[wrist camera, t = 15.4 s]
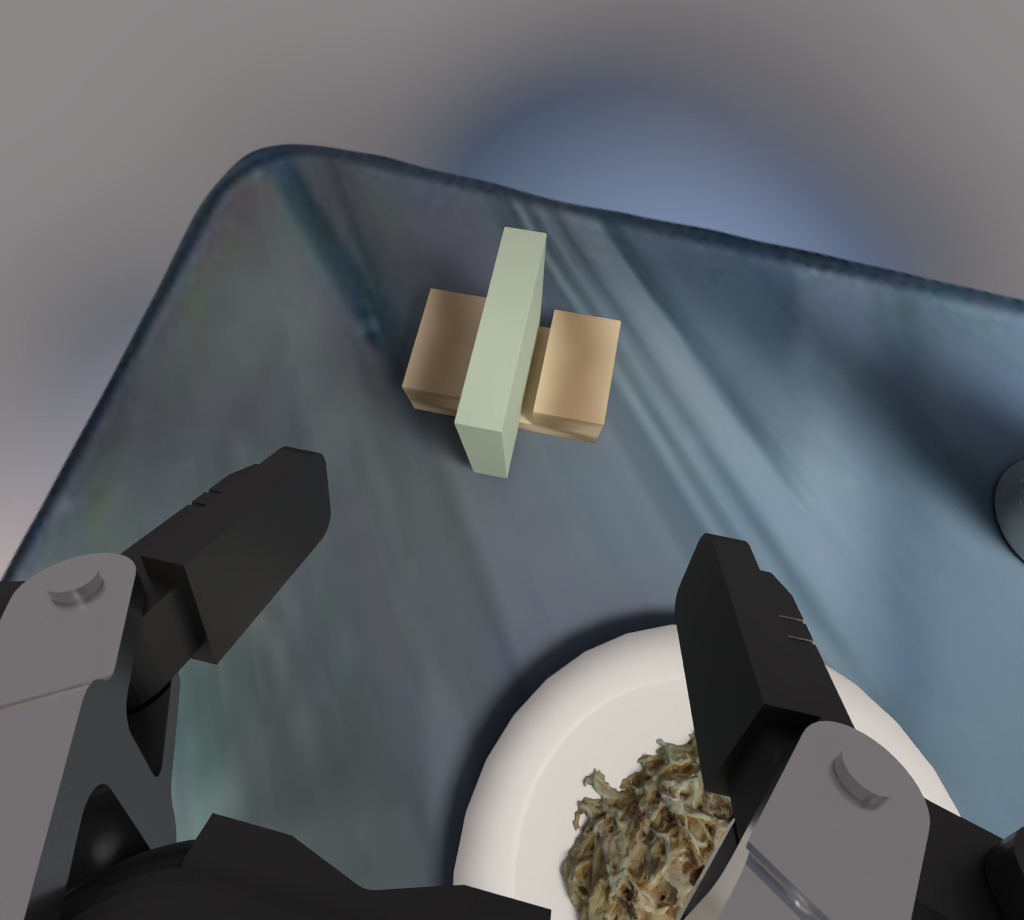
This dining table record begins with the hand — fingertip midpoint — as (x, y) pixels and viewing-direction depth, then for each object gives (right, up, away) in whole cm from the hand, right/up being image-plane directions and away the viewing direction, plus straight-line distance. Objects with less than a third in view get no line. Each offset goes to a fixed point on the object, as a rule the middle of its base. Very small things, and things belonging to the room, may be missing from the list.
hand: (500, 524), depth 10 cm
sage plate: (0, +6, +24) cm, 25 cm away
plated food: (+12, -24, +18) cm, 32 cm away
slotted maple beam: (0, +8, +26) cm, 27 cm away
